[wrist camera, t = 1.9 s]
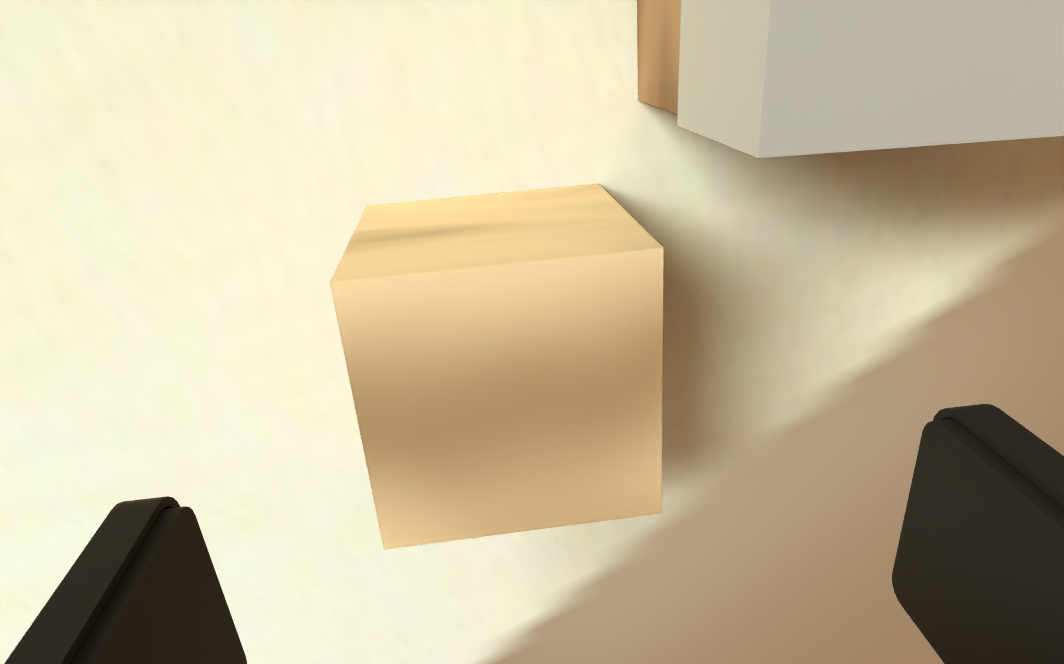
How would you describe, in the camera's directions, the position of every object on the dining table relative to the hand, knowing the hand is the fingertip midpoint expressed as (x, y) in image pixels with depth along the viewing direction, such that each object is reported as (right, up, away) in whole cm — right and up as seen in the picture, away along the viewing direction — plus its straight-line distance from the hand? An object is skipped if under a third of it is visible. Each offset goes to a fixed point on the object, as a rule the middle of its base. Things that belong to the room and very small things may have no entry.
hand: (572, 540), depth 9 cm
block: (-2, +4, +10) cm, 11 cm away
